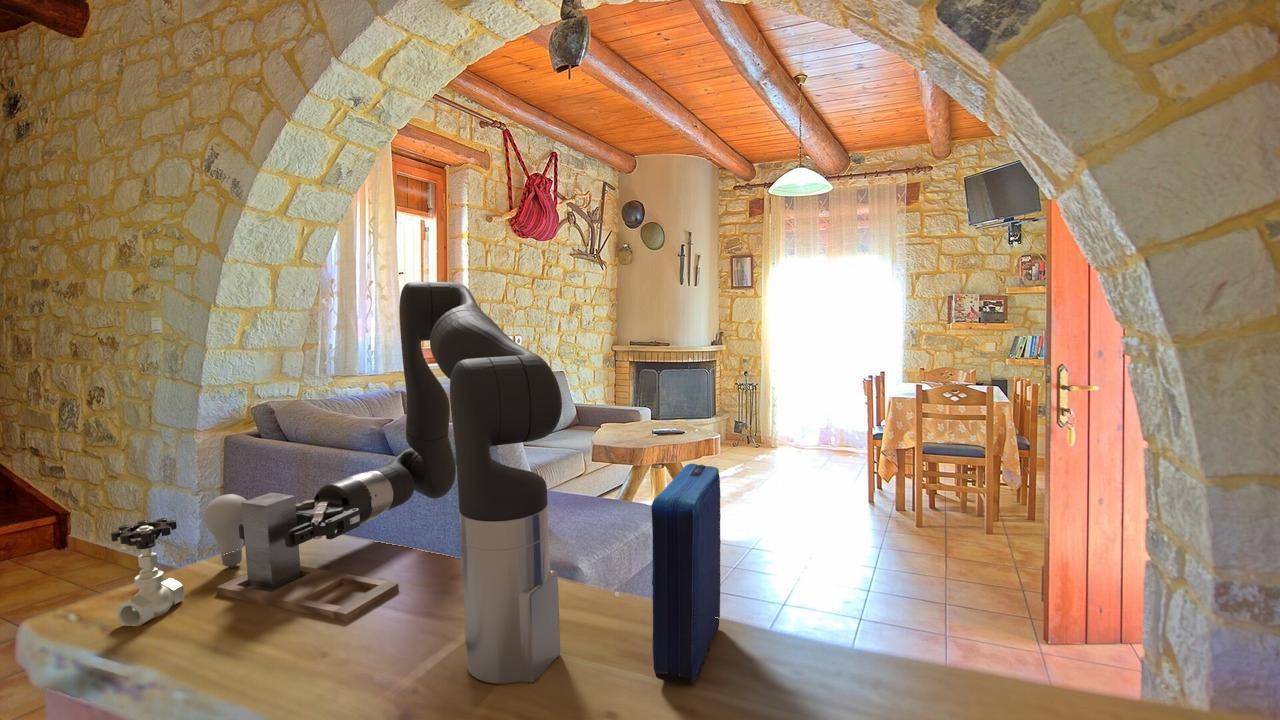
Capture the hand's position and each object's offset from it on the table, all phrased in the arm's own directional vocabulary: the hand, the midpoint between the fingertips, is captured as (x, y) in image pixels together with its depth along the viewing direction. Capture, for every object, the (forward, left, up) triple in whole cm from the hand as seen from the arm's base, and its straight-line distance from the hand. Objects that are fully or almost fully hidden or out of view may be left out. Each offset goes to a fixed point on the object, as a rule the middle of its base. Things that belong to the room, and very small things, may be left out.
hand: (263, 536), depth 91 cm
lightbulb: (+13, -5, -8) cm, 17 cm away
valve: (+8, +10, -8) cm, 15 cm away
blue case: (-58, -5, -8) cm, 59 cm away
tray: (-6, -1, -8) cm, 10 cm away
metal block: (0, -1, -7) cm, 7 cm away
